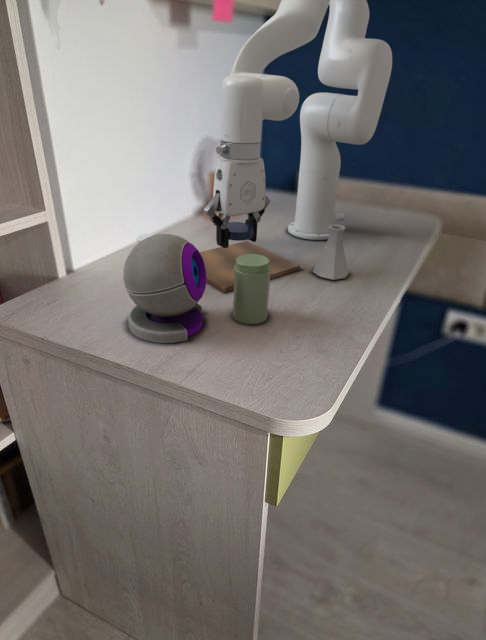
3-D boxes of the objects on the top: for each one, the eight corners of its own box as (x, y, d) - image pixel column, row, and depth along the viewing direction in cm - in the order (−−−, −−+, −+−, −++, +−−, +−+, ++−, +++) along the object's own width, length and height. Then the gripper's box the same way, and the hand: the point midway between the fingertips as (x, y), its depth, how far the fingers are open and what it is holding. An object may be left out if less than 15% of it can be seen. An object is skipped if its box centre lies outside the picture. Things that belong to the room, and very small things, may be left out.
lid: (240, 243, 98) (240, 234, 97) (213, 235, 101) (214, 227, 100) (259, 235, 102) (260, 227, 101) (233, 227, 105) (234, 219, 105)
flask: (327, 264, 108) (333, 219, 103) (354, 274, 104) (362, 227, 99) (306, 272, 104) (311, 225, 99) (334, 283, 100) (341, 235, 94)
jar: (246, 305, 90) (248, 250, 84) (273, 315, 87) (278, 259, 82) (225, 317, 86) (227, 260, 80) (254, 328, 83) (257, 269, 77)
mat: (246, 244, 117) (246, 240, 116) (300, 269, 105) (300, 265, 104) (173, 262, 106) (173, 258, 105) (224, 292, 94) (224, 287, 93)
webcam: (194, 347, 77) (192, 255, 69) (115, 337, 78) (105, 246, 70) (213, 310, 88) (214, 227, 80) (144, 301, 89) (138, 219, 81)
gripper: (214, 158, 86) (213, 256, 95) (287, 151, 96) (279, 241, 105) (190, 151, 91) (191, 245, 100) (262, 144, 100) (257, 231, 110)
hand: (236, 242), depth 102 cm, fingers closed on lid, 6 cm apart
